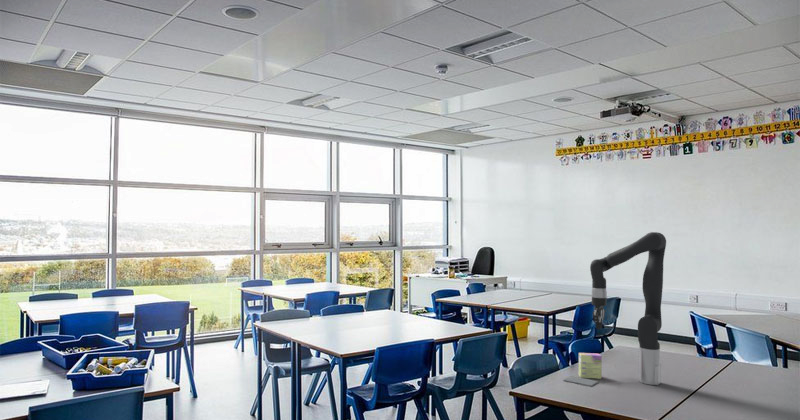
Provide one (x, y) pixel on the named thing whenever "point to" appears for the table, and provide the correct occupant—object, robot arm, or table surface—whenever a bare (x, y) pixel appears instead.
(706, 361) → the table surface
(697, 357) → the table surface
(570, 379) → the mat
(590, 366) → the box
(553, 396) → the table surface
